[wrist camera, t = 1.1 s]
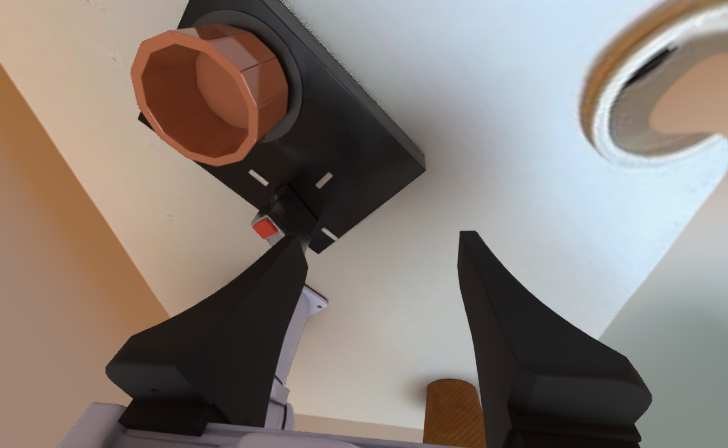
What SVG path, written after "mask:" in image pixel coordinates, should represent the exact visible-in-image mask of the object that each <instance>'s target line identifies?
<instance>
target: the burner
mask: <svg viewBox="0 0 728 448" xmlns="http://www.w3.org/2000/svg"><path fill="white" fill-rule="evenodd" d="M217 24H225V25H228V26H231V27H235V28H238V29H242V30H245V31H248V32H251V34H254V35H255V36H256V37H257V38H258V39H259V40H260V41H261V42H262V43H263V44H265V45H266V46H267V47H268V48H269V49H270V51H271V52H272V53H273V54H274V55H275V56H276V58H277V60H278V62H279V64H280V65H281V68H282V70H283V72H284V75H285V78H286V82H287V85H288V99H287V111H286V115H285V117H284V118H283V119H282V120H281V122H280V123H279V124H278V126H277V127H276V128H275V129H274V131H273V132H272V133H271V134H270V135H269V136H267V137H266V138H265V139H264V140H263V141H262V142H261V143H266V142H271V141H274V140H276V139H278V138H280V137H282V136H283V135H285V134H286V133H287V132H288V131H289V130H290V129H291V128H292V127H293V125H294V124H295V123H296V121H297V119H298V117H299V114H300V111H301V108H302V102H303V84H302V79H301V74H300V71H299V68H298V65H297V63H296V60H295V58H294V56H293V54H292V52H291V51H290V49H289V47H288V46H287V45H286V43H285V42H284V40H283V39H282V38H281V37H280V36H279V35H278V34H277V32H275V31H274V30H273V29H272V28H271V27H270V26H269V25H267V24H266V23H265V22H263V21H262V20H260V19H258V18H257V17H255V16H253V15H251V14H248V13H245V12H242V11H238V10H229V9H223V10H216V11H212V12H209V13H207V14H205V15H203V16H201V17H200V18H199V19H198V20H196V21H195V23H194V24H193V25H192V26H191V27H190V28H193V27H201V26H209V25H217Z"/></svg>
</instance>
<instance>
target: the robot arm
mask: <svg viewBox="0 0 728 448" xmlns="http://www.w3.org/2000/svg"><path fill="white" fill-rule="evenodd" d="M457 268H458V277H459V285H460V290H461V294H462V298H463V303H464V307H465V311H466V315H467V319H468V323H469V327H470V331H471V335H472V340H473V344H474V351H475V358H476V365H477V372H478V380H479V387H480V395H481V403H482V411H483V419H484V428H485V437H486V446H487V448H640V446H639V444H638V442H640V441H641V436H640V434H639V432H638V430H637V428H636V426H635V424H634V423H635V422H636V421H637V420H638V419H639V418H640V417H641V416H642V415H643V414H644V412H645V411H646V410H647V409H648V407H649V406H650V404H651V402H652V395H651V393H650V391H649V390H648V388H647V386H646V385H645V383H644V382H643V380H642V378H641V377H640V375H639V374H638V372H637V371H636V369H635V368H634V367H633V365H632V364H631V363H630V362H629V360H628V359H627V357H625V356H624V355H622V354H620V353H618V352H617V351H615V350H613V349H611V348H610V347H608V346H606V345H604V344H602V343H601V342H599V341H597V340H596V339H594V338H592V337H591V336H589V335H588V334H586V333H584V332H583V331H581V330H580V329H578V328H577V327H575V326H574V325H572V324H571V323H569V322H568V321H566V320H565V319H563V318H562V317H561V316H559V315H558V314H557V313H555V312H554V311H553V310H551V309H550V308H549V307H547V306H546V305H545V304H543V303H542V302H541V301H540V300H539V299H537V298H536V297H535V296H534V295H533V294H532V293H530V292H529V291H528V290H527V289H526V288H525V287H524V286H523V285H522V284H521V283H520V282H519V281H518V280H517V279H516V278H515V277H514V276H513V275H512V274H511V273H510V272H509V271H508V270H507V269H506V268H505V267H504V266H503V264H502V263H501V262H500V261H499V260H498V259H497V258H496V256H495V255H494V254H493V253H492V252H491V250H490V249H489V248H488V246H487V245H486V244H485V242H484V241H483V240H482V238H481V237H480V236H479V234H478V233H477V232H476V231H460V237H459V250H458V264H457ZM307 271H308V264H307V261H306V258H305V255H304V252H303V249H302V246H301V243H300V240H299V237H298V235H285V236H284V237H283V238H282V239H280V240H279V241H278V242H277V243H276V244H275V245H274V246H273V247H271V248H270V249H269V250H268V251H267V252H266V253H265V254H264V255H263V256H261V257H260V258H259V259H258V260H257V261H256V262H255V263H253V264H252V265H251V266H250V267H249V268H247V269H246V270H245V271H244V272H243V273H241V274H240V275H239V276H238V277H236V278H235V279H234V280H232V281H231V282H230V283H228V284H227V285H226V286H224V287H223V288H221V289H220V290H218V291H217V292H216V293H214V294H212V295H211V296H209V297H208V298H206V299H204V300H203V301H201V302H199V303H198V304H196V305H194V306H193V307H191V308H189V309H187V310H186V311H184V312H182V313H180V314H178V315H176V316H174V317H172V318H170V319H168V320H166V321H164V322H162V323H160V324H158V325H156V326H153V327H151V328H149V329H147V330H144V331H142V332H140V333H138V334H135V335H133V336H131V337H130V338H129V339H128V341H127V342H126V343H125V344H124V346H123V347H122V348H121V349H120V350H119V351H118V353H117V354H116V355H115V356H114V358H113V359H112V360H111V361H110V362H109V364H108V365H107V366H106V374H107V376H108V378H109V379H110V380H111V381H112V382H113V383H114V384H116V385H117V386H118V387H119V388H121V389H122V390H123V391H124V392H125V393H127V394H128V395H129V396H131V397H132V398H133V400H132V401H131V403H130V404H129V406H128V407H125V406H123V405H119V404H110V403H100V402H94V403H91V405H90V406H89V407H88V408H87V410H86V411H85V412H84V413H83V415H82V416H81V417H80V418H79V420H78V421H77V422H76V423H75V425H74V426H73V427H72V429H71V430H70V431H69V432H68V434H67V435H66V436H65V437H64V439H63V440H62V441H61V442H60V444H59V445H58V446H57V447H56V448H464V447H454V446H444V445H434V444H423V443H413V442H403V441H392V440H381V439H372V438H362V437H351V436H342V435H331V434H321V433H311V432H300V431H294V427H295V418H294V414H293V408H292V405H291V404H290V403H287V402H286V401H287V398H288V394H289V391H290V390H289V389H288V388H286V387H284V386H285V383H286V380H287V377H288V374H289V371H290V368H291V365H292V362H293V359H294V356H295V352H296V349H297V346H298V343H299V340H300V337H301V334H302V331H303V328H304V325H305V322H306V319H308V318H309V317H311V316H313V315H314V314H316V313H317V312H319V311H321V310H322V309H324V308H325V307H327V304H328V302H327V301H326V300H325V299H323V298H322V297H321V296H319V295H318V294H316V293H315V292H313V291H312V290H310V289H309V288H307V287H306V286H305V285H304V284H305V280H306V276H307Z"/></svg>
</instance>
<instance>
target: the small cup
mask: <svg viewBox="0 0 728 448" xmlns="http://www.w3.org/2000/svg"><path fill="white" fill-rule="evenodd" d="M131 77H132V82H133V86H134V91H135V95H136V100H137V105H138V106H139V109H140V110H141V112H142V113H143V114H144V116H145V117H146V119H147V120H148V122H149V123H150V125H151V126H152V128H153V129H154V131H155V132H156V133H157V135H158V136H159V137H160V138H161V139H162V140H163V141H165V142H166V143H167V144H169V145H170V146H171V147H173V148H174V149H175V150H177V151H178V152H180V153H181V154H182V155H184V156H185V157H186V158H188V159H191V160H195V161H199V162H202V163H206V164H209V165H213V166H221V165H226V164H230V163H234V162H238V161H241V160H243V159H244V158H245V157H246V156H247V155H248V154H249V153H251V152H252V151H253V150H254V149H255V148H256V147H257V146H258V145H259V144H260V143H261V142H262V141H263V140H264V139H265V138H266V137H267V136H269V135H270V134H271V133H272V132H273V131H274V129H275V128H276V127H277V126H278V124H279V123H280V122H281V120H282V119H283V118H284V117H285V115H286V111H287V99H288V85H287V82H286V78H285V75H284V72H283V70H282V68H281V65H280V64H279V62H278V60H277V58H276V56H275V55H274V54H273V53H272V52H271V51H270V49H269V48H268V47H267V46H266V45H265V44H263V43H262V42H261V41H260V40H259V39H258V38H257V37H256V36H255V35H254V34H251V32H248V31H245V30H242V29H238V28H235V27H231V26H228V25H225V24H217V25H209V26H201V27H193V28H185V29H176V30H169V31H166V32H164V33H162V34H159V35H157V36H154V37H152V38H149V39H147V40H145V41H143V42H142V43H141V44H140V47H139V49H138V52H137V55H136V57H135V60H134V63H133V65H132V68H131Z"/></svg>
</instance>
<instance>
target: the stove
mask: <svg viewBox="0 0 728 448" xmlns="http://www.w3.org/2000/svg"><path fill="white" fill-rule="evenodd" d="M223 9H229V10H238V11H242V12H245V13H248V14H251V15H253V16H255V17H257V18H258V19H260V20H262V21H263V22H265V23H266V24H267V25H269V26H270V27H271V28H272V29H273V30H274V31H275V32H277V34H278V35H279V36H280V37H281V38H282V39H283V40H284V42H285V43H286V45H287V46H288V47H289V49H290V51H291V52H292V54H293V56H294V58H295V60H296V63H297V65H298V68H299V71H300V74H301V79H302V84H303V102H302V108H301V111H300V114H299V117H298V119H297V121H296V123H295V124H294V125H293V127H292V128H291V129H290V130H289V131H288V132H287V133H286V134H285V135H283V136H282V137H280V138H278V139H276V140H274V141H271V142H266V143H260V144H259V145H258V146H257V147H256V148H255V149H254V150H253V151H252V152H251V153H249V154H248V155H247V156H246V157H245V158H244V159H243V160H241V161H238V162H234V163H230V164H226V165H221V166H213V165H209V164H206V163H202V162H199V161H195V160H193V161H194V162H196V163H197V164H198V165H200V166H201V167H202V168H204V169H205V170H206V171H208V172H209V173H210V174H212V175H213V176H214V177H216V178H217V179H218V180H220V181H221V182H222V183H224V184H225V185H226V186H228V187H229V188H230V189H232V190H233V191H234V192H236V193H237V194H238V195H240V196H241V197H242V198H244V199H245V200H246V201H248V202H249V203H250V204H252V205H253V206H254V207H256V208H257V209H258V210H260V209H261V208H262V207H263V205H264V204H265V202H266V201H267V200H268V198H269V197H270V196H271V194H272V193H273V191H275V190H277V189H279V188H281V187H283V186H284V185H286V184H288V185H289V186H290V187H291V188H292V190H293V191H294V192H295V193H296V195H297V196H298V197H299V198H300V200H301V201H302V202H303V203H304V205H305V206H306V207H307V208H308V210H309V211H310V212H311V213H312V215H313V216H314V217H315V218H316V220H317V221H318V224H317V226H316V228H315V231H314V233H313V235H312V238H311V240H310V243H309V245H308V247H309V248H310V249H312V250H313V251H314V252H316V253H317V254H319V253H321V252H322V251H323V250H325V249H326V248H327V247H328V246H330V245H331V244H332V243H334V242H335V241H336V240H337V239H339V238H340V237H341V236H343V235H344V234H345V233H346V232H348V231H349V230H350V229H352V228H353V227H354V226H355V225H357V224H358V223H359V222H361V221H362V220H363V219H364V218H366V217H367V216H368V215H370V214H371V213H372V212H373V211H375V210H376V209H377V208H379V207H380V206H381V205H382V204H384V203H385V202H386V201H388V200H389V199H390V198H391V197H393V196H394V195H395V194H397V193H398V192H399V191H400V190H402V189H403V188H404V187H406V186H407V185H408V184H409V183H411V182H412V181H413V180H415V179H416V178H417V177H418V176H420V175H421V174H422V173H424V172H425V171H426V168H425V156H424V154H423V152H422V151H421V150H420V149H419V148H418V147H417V146H416V145H415V144H414V143H413V142H412V141H411V140H410V139H409V138H408V136H407V135H406V134H405V133H404V132H403V131H402V130H401V129H400V128H399V127H398V126H397V125H396V124H395V123H394V122H393V120H392V119H391V118H390V117H389V116H388V115H387V114H386V113H385V112H384V111H383V110H382V109H381V108H380V107H379V106H378V105H377V103H376V102H375V101H374V100H373V99H372V98H371V97H370V96H369V95H368V94H367V93H366V92H365V91H364V90H363V89H362V87H361V86H360V85H359V84H358V83H357V82H356V81H355V80H354V79H353V78H352V77H351V76H350V75H349V74H348V73H347V71H346V70H345V69H344V68H343V67H342V66H341V65H340V64H339V63H338V62H337V61H336V60H335V59H334V58H333V57H332V55H331V54H330V53H329V52H328V51H327V50H326V49H325V48H324V47H323V46H322V45H321V44H320V43H319V42H318V41H317V39H316V38H315V37H314V36H313V35H312V34H311V33H310V32H309V31H308V30H307V29H306V28H305V27H304V26H303V25H302V24H301V22H300V21H299V20H298V19H297V18H296V17H295V16H294V15H293V14H292V13H291V12H290V11H289V10H288V9H287V8H286V6H285V5H284V4H283V3H282V2H281V1H280V0H189V2H188V5H187V7H186V9H185V12H184V14H183V16H182V18H181V21H180V23H179V25H178V28H177V29H185V28H190V27H191V26H192V25H193V24H194V23H195V21H196V20H198V19H199V18H200V17H201V16H203V15H205V14H207V13H209V12H212V11H216V10H223ZM138 120H139V121H141V122H142V123H143V124H145V125H146V126H147V127H149V128H150V129H151V130H153V131H154V129H153V128H152V126H151V125H150V123H149V122H148V120H147V119H146V117H145V116H144V114H143V113H142V112H140V114H139V117H138ZM154 132H155V131H154ZM155 133H156V132H155Z"/></svg>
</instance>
